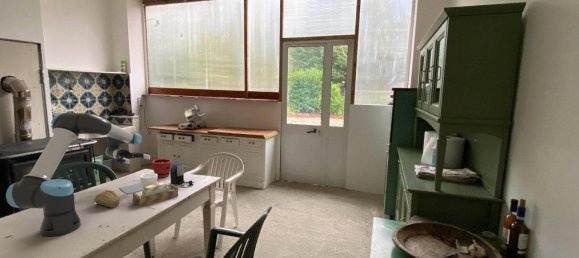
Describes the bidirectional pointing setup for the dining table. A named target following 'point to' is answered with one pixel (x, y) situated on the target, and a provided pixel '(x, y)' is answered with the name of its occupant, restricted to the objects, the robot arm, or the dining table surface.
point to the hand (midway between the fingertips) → (139, 159)
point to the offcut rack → (155, 197)
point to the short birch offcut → (155, 187)
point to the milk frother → (177, 173)
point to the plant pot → (162, 167)
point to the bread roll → (107, 199)
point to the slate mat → (132, 188)
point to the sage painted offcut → (155, 192)
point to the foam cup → (148, 179)
